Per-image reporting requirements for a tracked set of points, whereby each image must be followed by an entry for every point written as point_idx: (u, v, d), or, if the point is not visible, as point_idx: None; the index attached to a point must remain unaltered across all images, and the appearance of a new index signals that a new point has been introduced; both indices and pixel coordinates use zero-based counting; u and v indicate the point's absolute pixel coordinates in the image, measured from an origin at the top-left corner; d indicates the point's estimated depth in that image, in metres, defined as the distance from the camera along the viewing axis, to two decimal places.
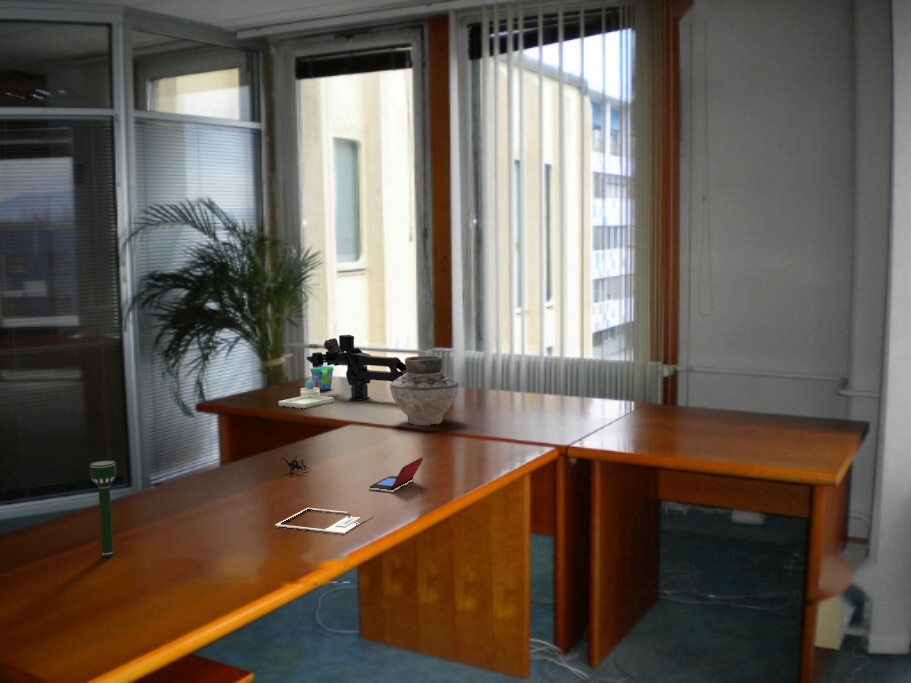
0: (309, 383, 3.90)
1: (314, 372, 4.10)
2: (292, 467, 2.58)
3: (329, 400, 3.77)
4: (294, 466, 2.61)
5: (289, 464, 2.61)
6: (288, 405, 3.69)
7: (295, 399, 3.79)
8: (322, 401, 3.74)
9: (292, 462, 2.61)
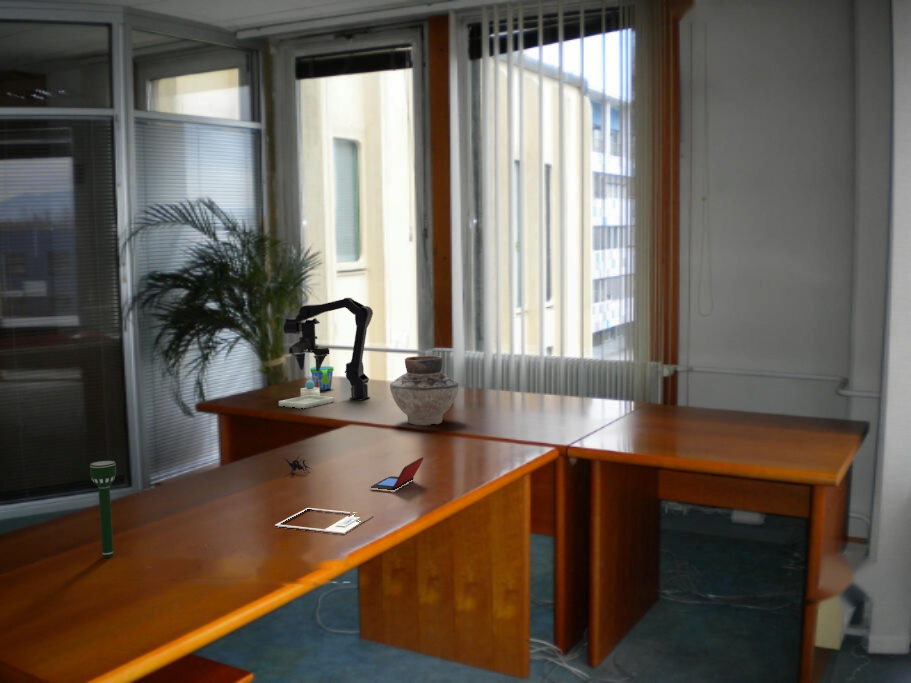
0: (309, 383, 3.90)
1: (314, 372, 4.10)
2: (293, 467, 2.57)
3: (329, 400, 3.77)
4: (295, 466, 2.61)
5: (290, 464, 2.61)
6: (288, 405, 3.69)
7: (295, 399, 3.79)
8: (322, 401, 3.74)
9: (293, 462, 2.60)
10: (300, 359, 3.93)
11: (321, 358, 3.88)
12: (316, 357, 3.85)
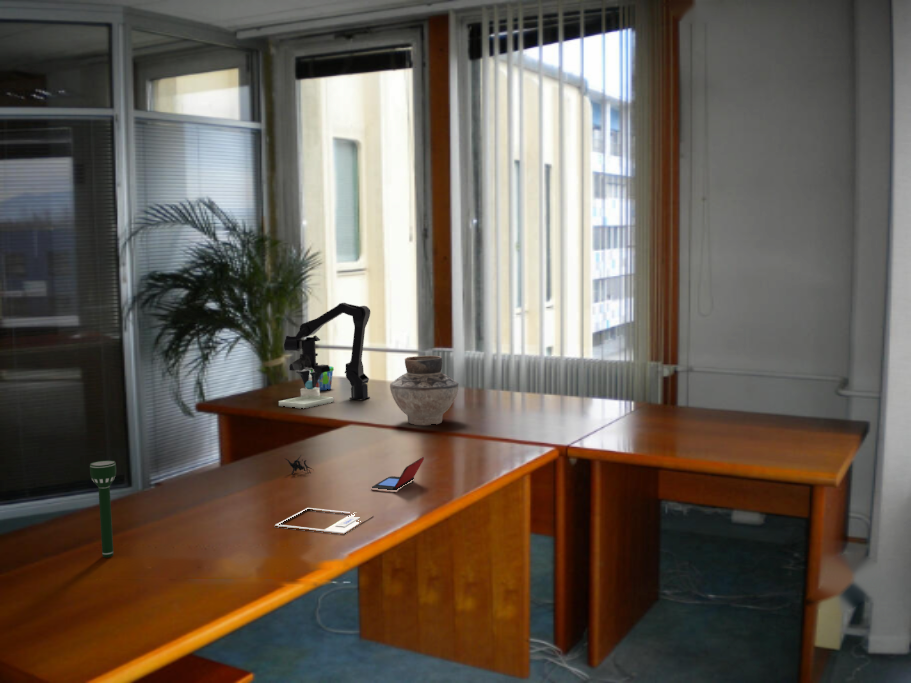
0: (309, 383, 3.90)
1: None
2: (294, 467, 2.57)
3: (329, 400, 3.77)
4: (297, 466, 2.61)
5: (292, 464, 2.60)
6: (288, 405, 3.69)
7: (295, 399, 3.79)
8: (322, 401, 3.74)
9: (295, 462, 2.60)
10: (305, 376, 3.93)
11: (317, 375, 3.90)
12: (312, 374, 3.87)
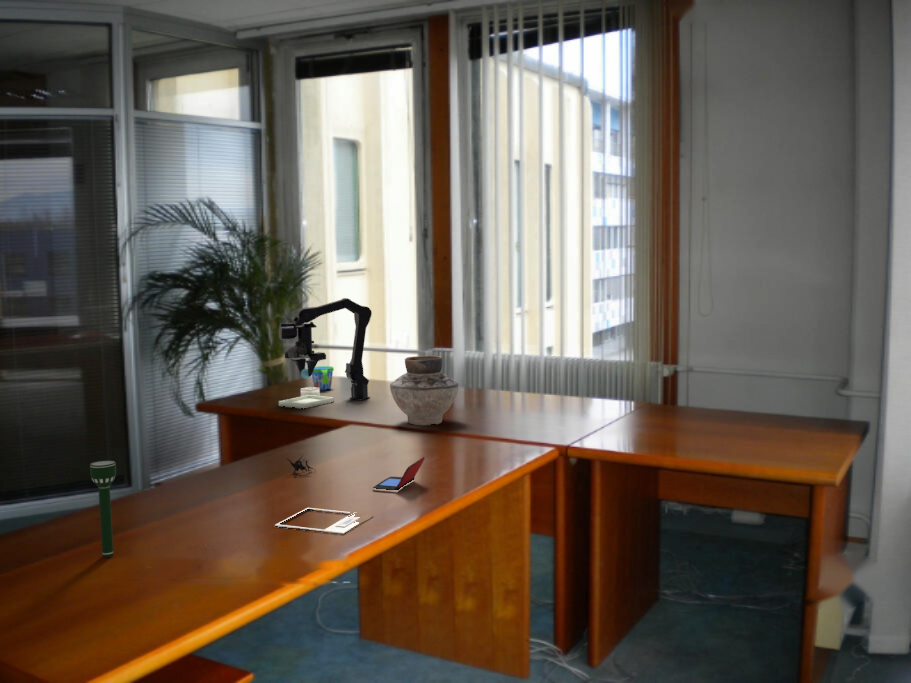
0: (305, 371, 3.75)
1: (314, 372, 4.10)
2: (296, 468, 2.57)
3: (329, 400, 3.77)
4: (298, 467, 2.60)
5: (293, 465, 2.60)
6: (288, 405, 3.69)
7: (295, 399, 3.79)
8: (322, 401, 3.74)
9: (296, 463, 2.60)
10: (300, 365, 3.78)
11: (313, 363, 3.75)
12: (307, 362, 3.72)
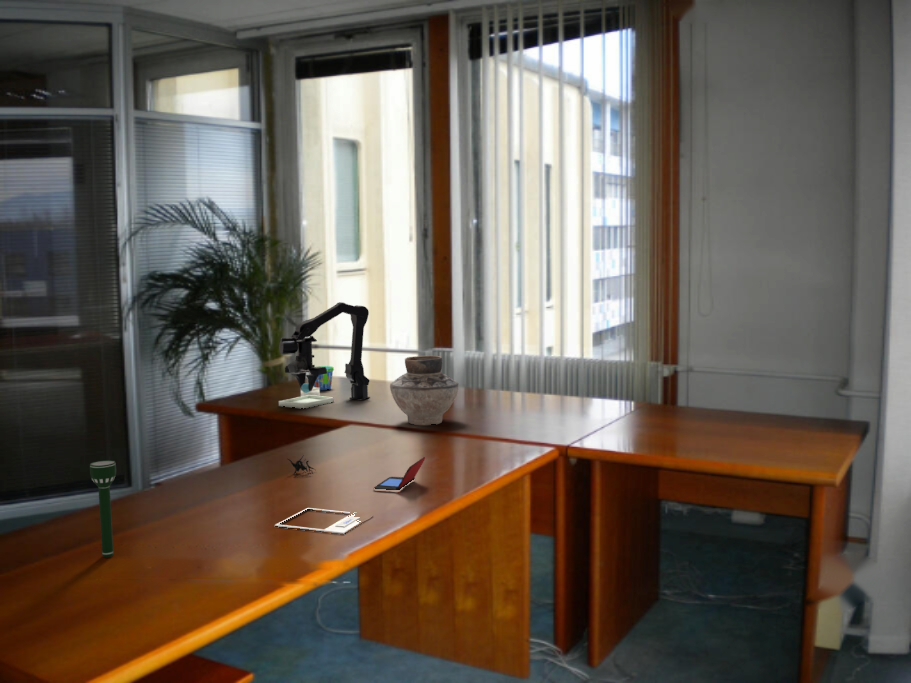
0: (305, 386, 3.74)
1: None
2: (297, 468, 2.57)
3: (329, 400, 3.77)
4: (299, 467, 2.60)
5: (294, 465, 2.60)
6: (288, 405, 3.69)
7: (295, 399, 3.79)
8: (322, 401, 3.74)
9: (297, 463, 2.60)
10: (301, 379, 3.76)
11: (314, 377, 3.74)
12: (308, 376, 3.71)
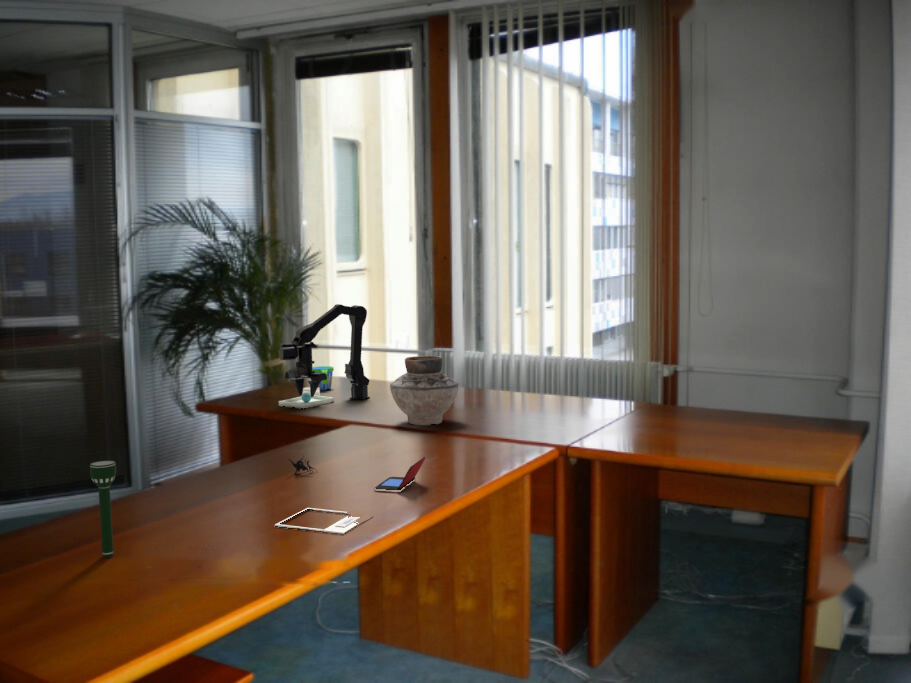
0: (305, 395, 3.74)
1: None
2: (297, 468, 2.57)
3: (329, 400, 3.77)
4: (300, 467, 2.60)
5: (295, 465, 2.60)
6: (288, 405, 3.69)
7: (295, 399, 3.79)
8: (322, 401, 3.74)
9: (298, 463, 2.60)
10: (299, 385, 3.77)
11: (316, 383, 3.74)
12: (310, 383, 3.70)
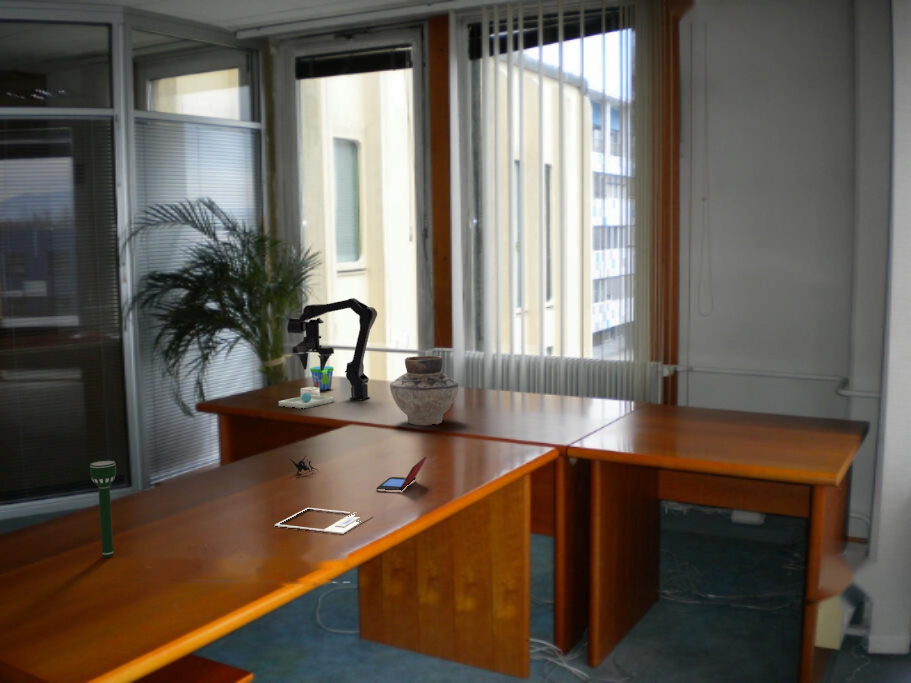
0: (305, 395, 3.74)
1: (314, 372, 4.10)
2: (299, 468, 2.56)
3: (329, 400, 3.77)
4: (301, 467, 2.60)
5: (296, 465, 2.60)
6: (288, 405, 3.69)
7: (295, 399, 3.79)
8: (322, 401, 3.74)
9: (299, 463, 2.59)
10: (303, 359, 3.92)
11: (325, 358, 3.88)
12: (320, 357, 3.84)
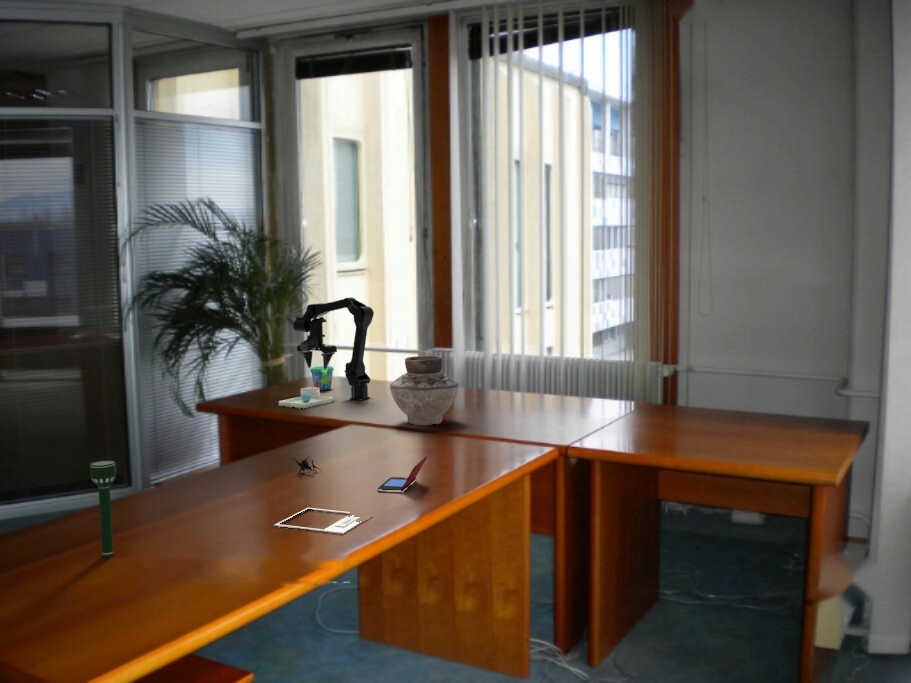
0: (305, 395, 3.74)
1: (314, 372, 4.10)
2: (301, 467, 2.57)
3: (329, 400, 3.77)
4: (304, 466, 2.61)
5: (299, 464, 2.61)
6: (288, 405, 3.69)
7: (295, 399, 3.79)
8: (322, 401, 3.74)
9: (302, 462, 2.60)
10: (308, 357, 3.99)
11: (328, 356, 3.94)
12: (323, 355, 3.90)
